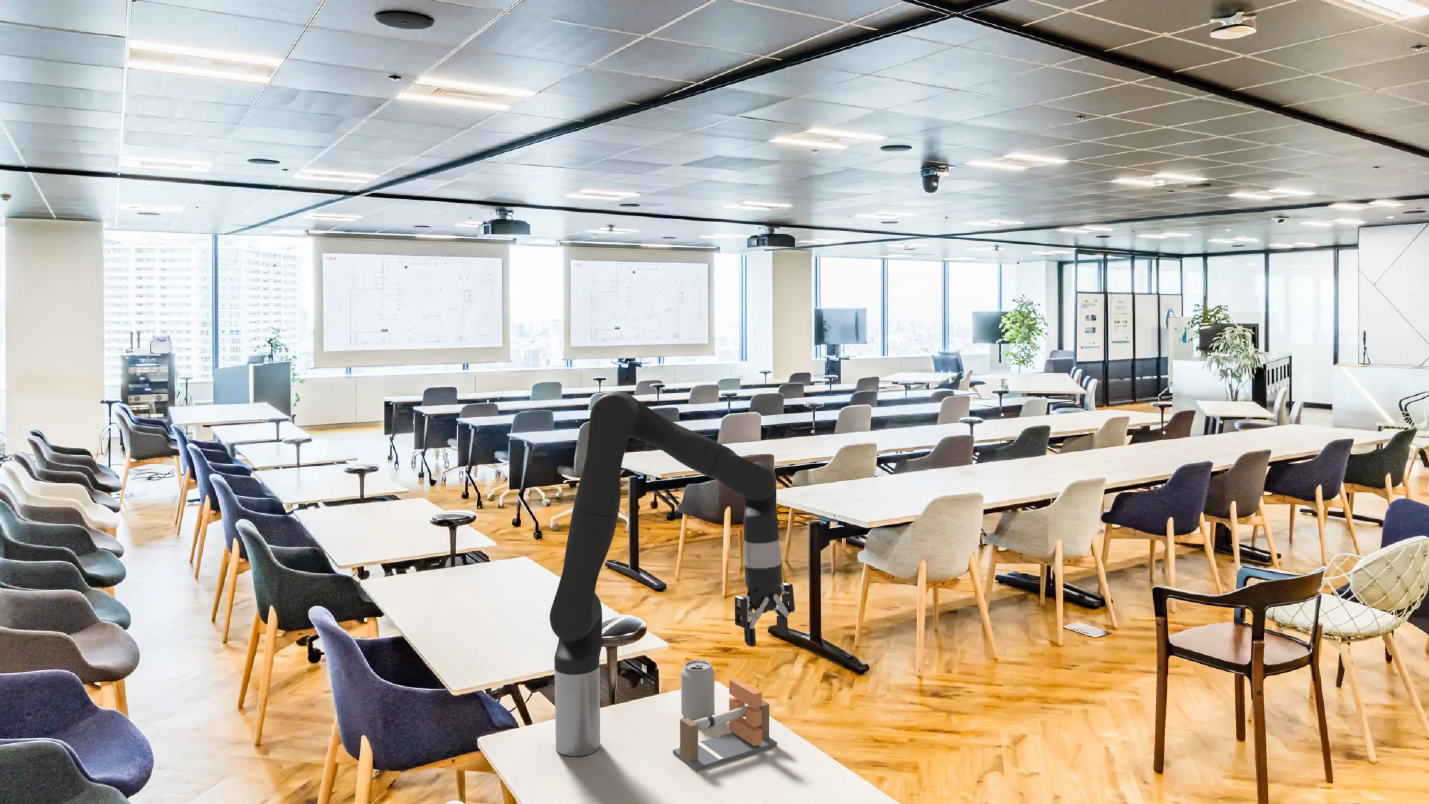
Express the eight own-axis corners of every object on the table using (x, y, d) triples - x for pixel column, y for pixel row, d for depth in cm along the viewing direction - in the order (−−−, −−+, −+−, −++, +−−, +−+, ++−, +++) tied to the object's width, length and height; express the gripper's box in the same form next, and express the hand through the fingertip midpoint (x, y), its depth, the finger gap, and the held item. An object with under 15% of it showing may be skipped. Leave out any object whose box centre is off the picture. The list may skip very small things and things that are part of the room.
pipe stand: (696, 771, 179) (696, 731, 179) (672, 753, 187) (672, 714, 186) (777, 745, 190) (777, 707, 190) (751, 729, 198) (752, 693, 197)
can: (677, 721, 202) (677, 668, 201) (686, 707, 210) (686, 656, 209) (710, 724, 201) (709, 671, 200) (717, 710, 208) (717, 659, 207)
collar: (753, 746, 187) (754, 694, 186) (729, 729, 195) (729, 679, 194) (761, 743, 188) (762, 692, 187) (736, 727, 196) (737, 678, 195)
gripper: (775, 551, 190) (779, 627, 192) (723, 565, 181) (728, 645, 183) (801, 557, 185) (804, 635, 186) (748, 572, 176) (752, 654, 177)
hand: (766, 640), depth 184 cm, fingers open, 8 cm apart
